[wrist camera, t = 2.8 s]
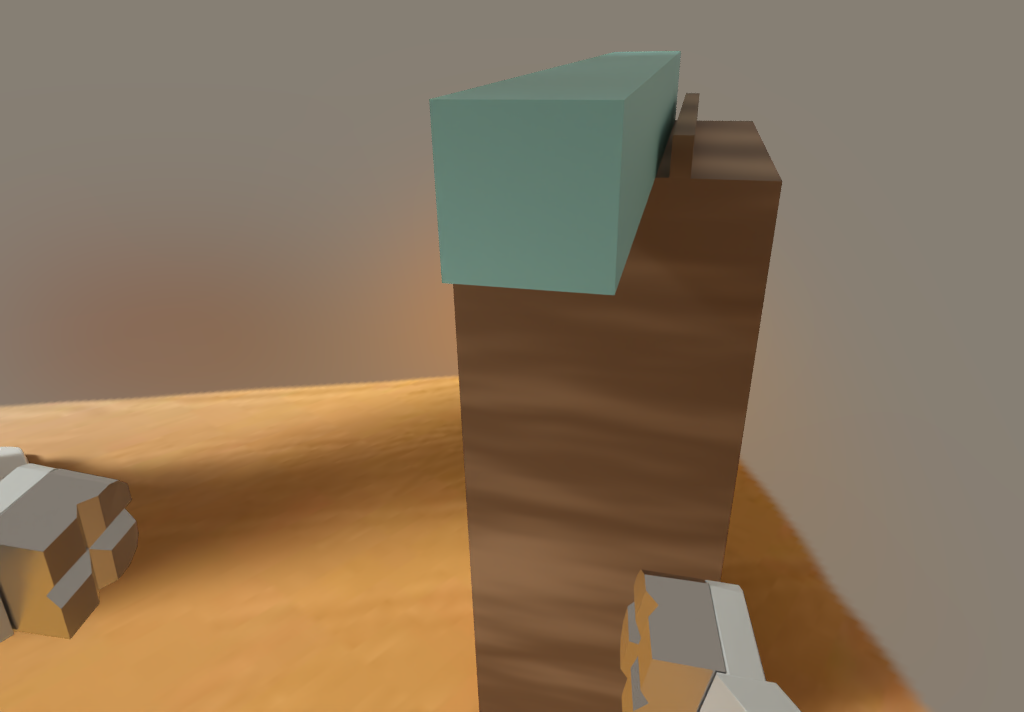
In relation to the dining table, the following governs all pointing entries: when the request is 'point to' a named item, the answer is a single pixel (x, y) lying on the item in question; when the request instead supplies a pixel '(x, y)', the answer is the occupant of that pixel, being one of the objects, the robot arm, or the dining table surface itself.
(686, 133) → the walnut stand
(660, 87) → the teal rod
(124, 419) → the dining table surface
